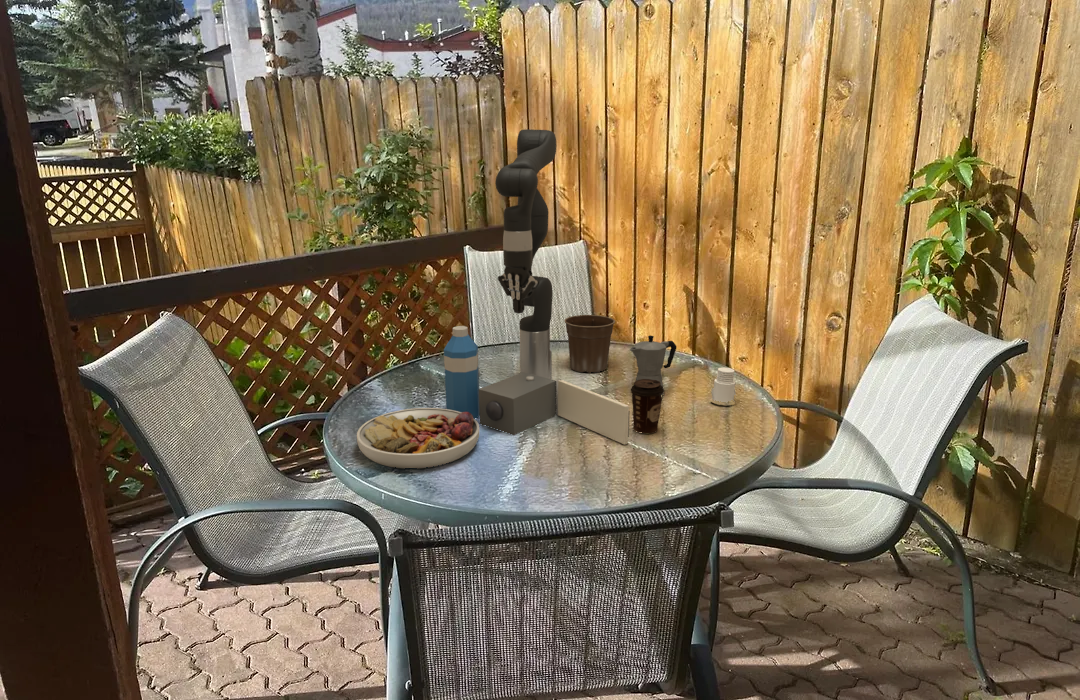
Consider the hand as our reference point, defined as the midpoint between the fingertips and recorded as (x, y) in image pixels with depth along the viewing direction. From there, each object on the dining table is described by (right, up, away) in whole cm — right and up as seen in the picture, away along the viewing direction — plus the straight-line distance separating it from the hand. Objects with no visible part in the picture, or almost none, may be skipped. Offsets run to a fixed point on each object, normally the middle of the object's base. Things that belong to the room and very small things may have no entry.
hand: (518, 312), depth 203 cm
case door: (+19, -30, -2) cm, 36 cm away
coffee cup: (+33, -31, -2) cm, 46 cm away
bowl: (-24, -35, -12) cm, 44 cm away
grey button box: (0, -29, +5) cm, 29 cm away
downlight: (+58, -25, +17) cm, 66 cm away
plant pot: (+22, -16, +48) cm, 55 cm away
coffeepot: (+39, -23, +24) cm, 51 cm away
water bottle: (-15, -28, +8) cm, 33 cm away
